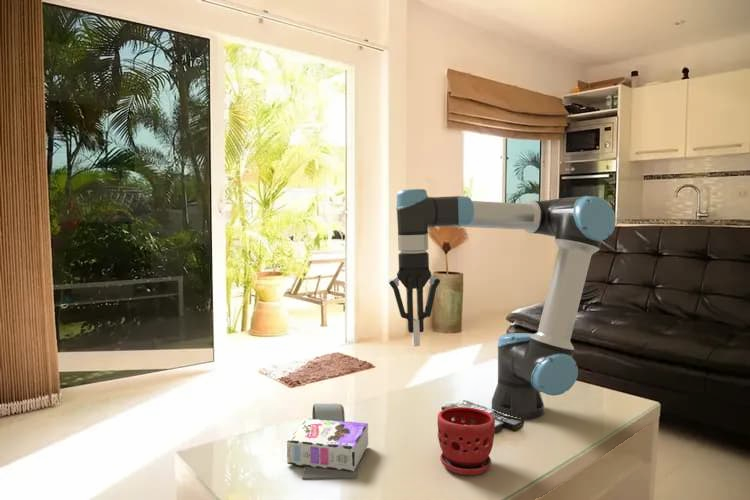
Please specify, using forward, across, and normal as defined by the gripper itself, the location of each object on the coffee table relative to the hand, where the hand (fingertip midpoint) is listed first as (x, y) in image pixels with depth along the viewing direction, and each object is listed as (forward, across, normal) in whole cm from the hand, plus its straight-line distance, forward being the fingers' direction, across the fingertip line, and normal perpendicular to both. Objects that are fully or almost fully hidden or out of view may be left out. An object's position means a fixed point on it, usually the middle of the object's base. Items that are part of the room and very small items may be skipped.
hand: (416, 344), depth 126 cm
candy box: (+22, +15, +8) cm, 27 cm away
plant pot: (+26, -9, +12) cm, 30 cm away
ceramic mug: (+25, +24, -11) cm, 37 cm away
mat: (+25, +22, +8) cm, 34 cm away
